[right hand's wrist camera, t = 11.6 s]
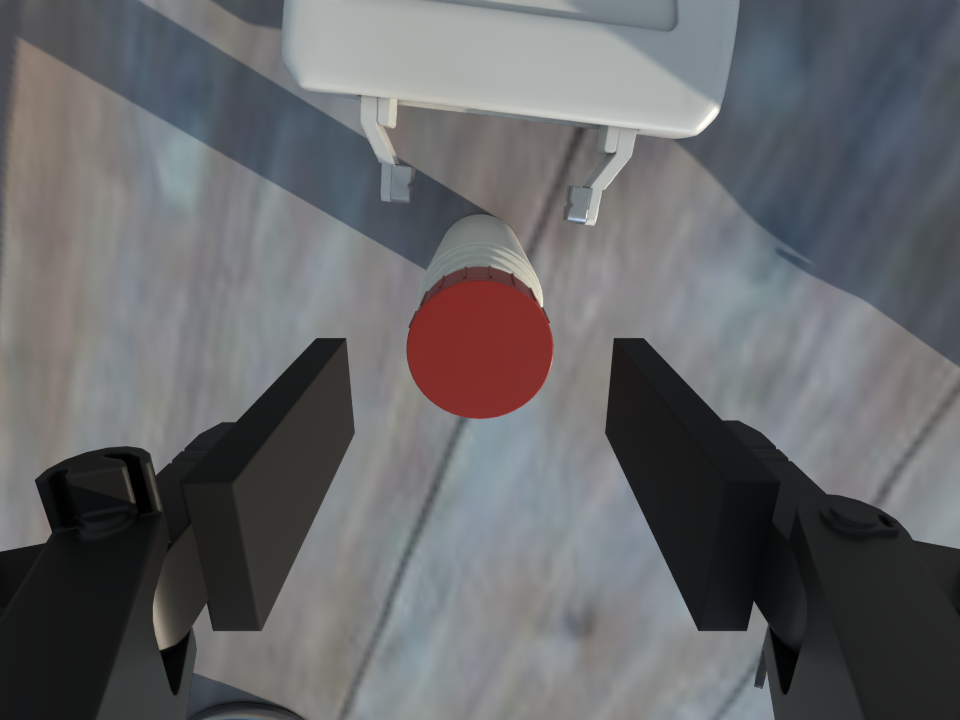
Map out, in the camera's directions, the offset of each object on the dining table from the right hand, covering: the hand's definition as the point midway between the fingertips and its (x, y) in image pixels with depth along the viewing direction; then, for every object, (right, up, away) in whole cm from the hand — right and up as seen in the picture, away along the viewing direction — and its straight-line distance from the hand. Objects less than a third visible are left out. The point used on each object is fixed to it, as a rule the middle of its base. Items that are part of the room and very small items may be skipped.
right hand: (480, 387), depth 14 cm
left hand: (0, +8, +13) cm, 16 cm away
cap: (0, +1, +3) cm, 3 cm away
